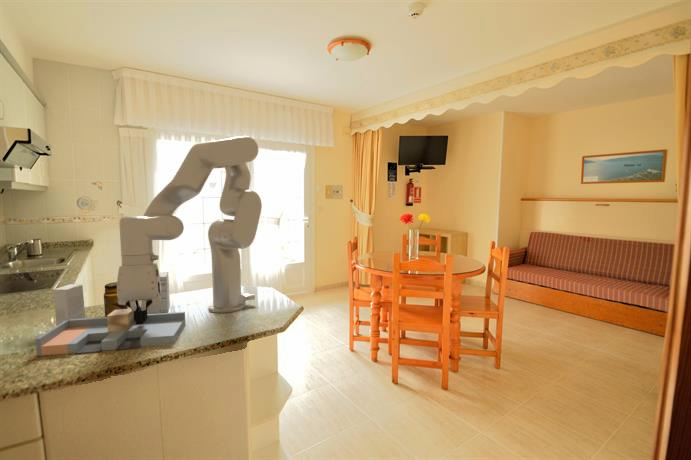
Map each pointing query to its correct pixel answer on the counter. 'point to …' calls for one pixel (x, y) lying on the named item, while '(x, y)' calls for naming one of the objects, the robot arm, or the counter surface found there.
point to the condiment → (111, 299)
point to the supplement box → (165, 300)
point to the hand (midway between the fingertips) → (141, 322)
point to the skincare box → (69, 302)
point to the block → (120, 320)
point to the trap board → (109, 335)
